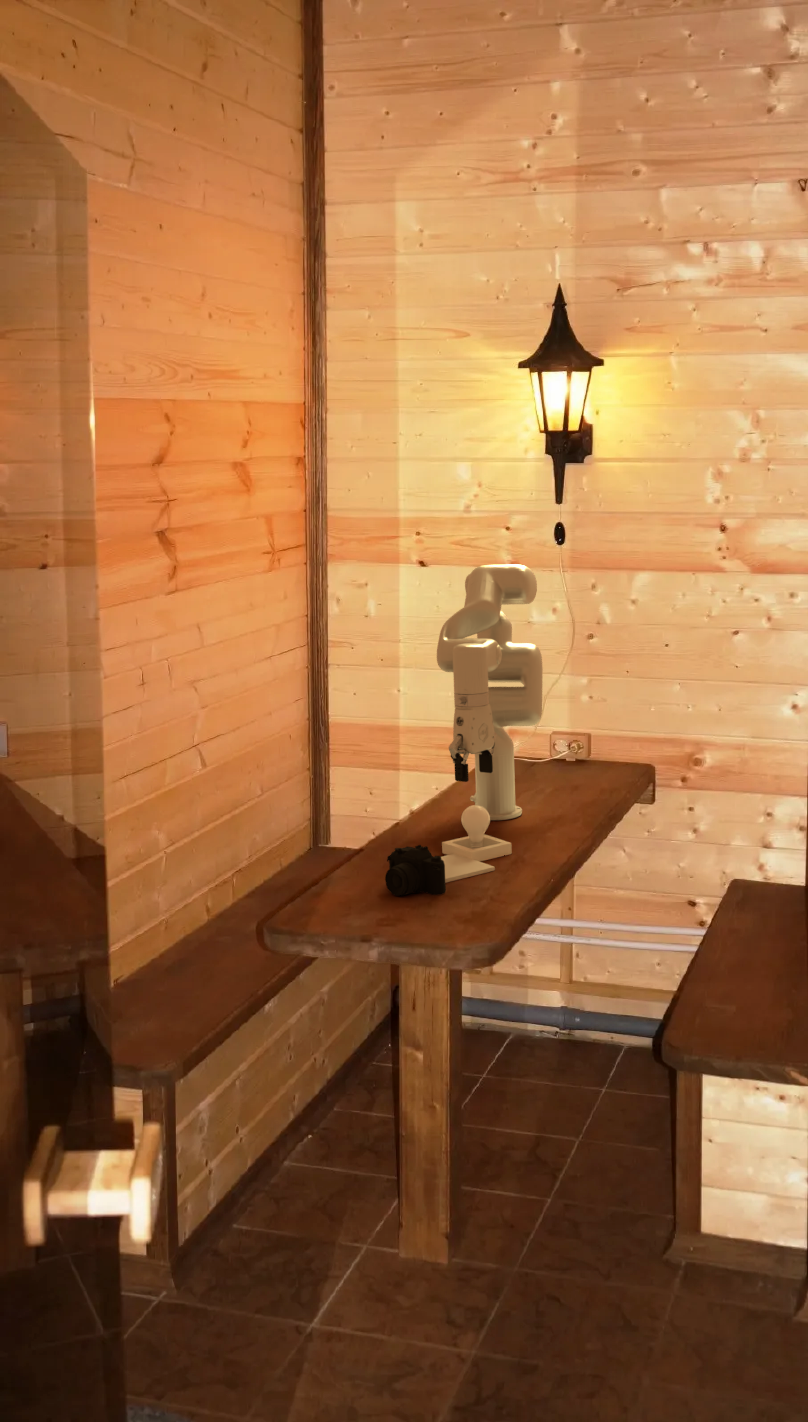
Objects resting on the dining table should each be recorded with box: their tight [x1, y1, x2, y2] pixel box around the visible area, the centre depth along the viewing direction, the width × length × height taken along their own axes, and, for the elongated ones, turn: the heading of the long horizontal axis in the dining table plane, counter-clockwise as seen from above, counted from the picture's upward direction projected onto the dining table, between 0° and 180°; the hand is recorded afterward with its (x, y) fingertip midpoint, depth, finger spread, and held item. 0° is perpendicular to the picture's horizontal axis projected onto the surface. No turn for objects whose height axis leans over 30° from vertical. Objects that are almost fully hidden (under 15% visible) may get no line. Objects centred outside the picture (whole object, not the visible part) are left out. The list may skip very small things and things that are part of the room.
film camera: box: [384, 844, 447, 897], centre depth 301 cm, size 15×10×9 cm, turn 44°
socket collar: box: [441, 833, 513, 862], centre depth 326 cm, size 11×11×2 cm
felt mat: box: [440, 854, 496, 884], centre depth 315 cm, size 14×14×1 cm
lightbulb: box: [460, 804, 491, 849], centre depth 325 cm, size 6×6×11 cm
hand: (474, 776), depth 323 cm, fingers open, 9 cm apart
